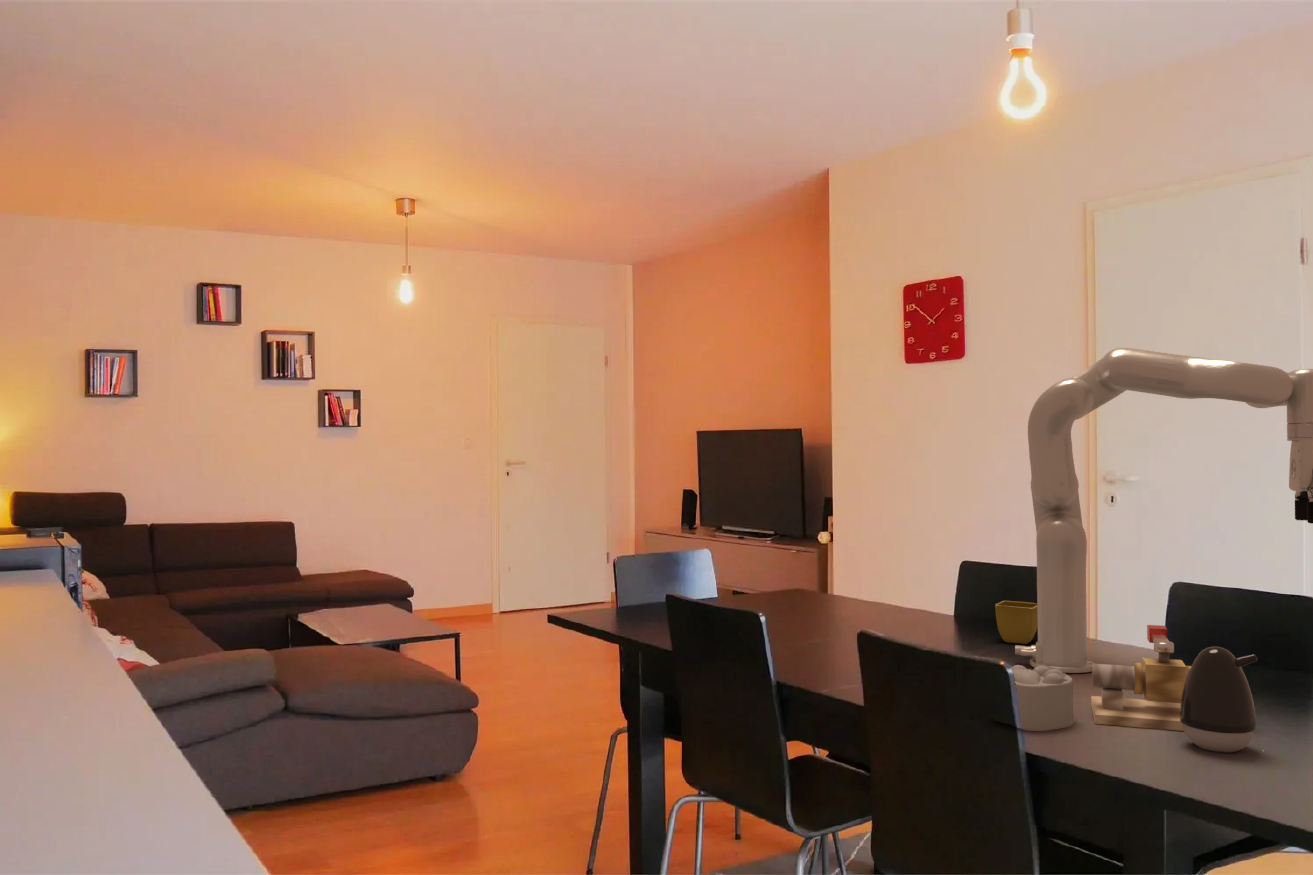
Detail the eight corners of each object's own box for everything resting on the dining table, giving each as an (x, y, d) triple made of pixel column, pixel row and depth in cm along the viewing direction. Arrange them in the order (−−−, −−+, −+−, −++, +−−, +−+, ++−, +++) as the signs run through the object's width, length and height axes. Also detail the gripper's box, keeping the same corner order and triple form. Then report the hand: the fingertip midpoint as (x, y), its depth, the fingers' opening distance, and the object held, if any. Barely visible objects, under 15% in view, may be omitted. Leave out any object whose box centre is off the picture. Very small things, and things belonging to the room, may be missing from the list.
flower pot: (1041, 641, 245) (1041, 603, 245) (1033, 646, 238) (1033, 607, 238) (1003, 637, 250) (1003, 600, 250) (994, 643, 242) (994, 604, 243)
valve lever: (1174, 653, 171) (1174, 638, 171) (1154, 652, 172) (1154, 637, 172) (1165, 639, 184) (1165, 625, 184) (1146, 638, 185) (1146, 624, 185)
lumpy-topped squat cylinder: (984, 718, 174) (984, 666, 174) (1041, 709, 180) (1040, 659, 180) (1032, 733, 164) (1032, 678, 165) (1090, 723, 170) (1089, 670, 170)
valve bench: (1095, 723, 170) (1094, 656, 170) (1091, 704, 183) (1090, 641, 183) (1247, 735, 162) (1246, 665, 162) (1231, 714, 175) (1230, 649, 176)
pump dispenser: (1263, 760, 149) (1262, 655, 149) (1182, 753, 153) (1181, 650, 153) (1253, 742, 159) (1252, 643, 159) (1177, 735, 163) (1176, 638, 163)
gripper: (1277, 434, 209) (1278, 518, 209) (1298, 432, 193) (1299, 524, 193) (1320, 433, 207) (1321, 519, 206) (1345, 432, 190) (1346, 525, 190)
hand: (1310, 521), depth 199 cm, fingers open, 9 cm apart
